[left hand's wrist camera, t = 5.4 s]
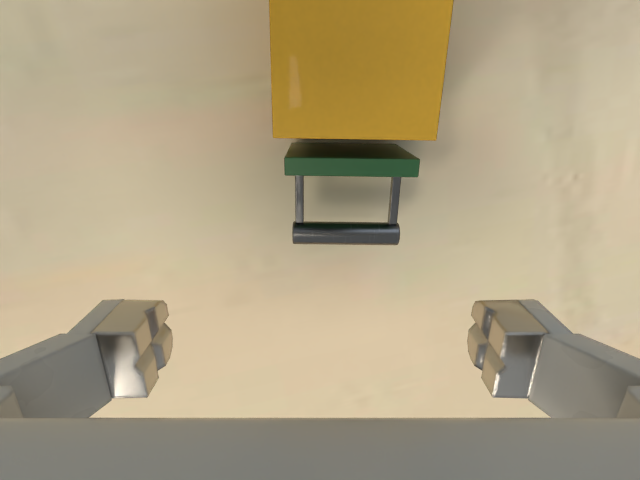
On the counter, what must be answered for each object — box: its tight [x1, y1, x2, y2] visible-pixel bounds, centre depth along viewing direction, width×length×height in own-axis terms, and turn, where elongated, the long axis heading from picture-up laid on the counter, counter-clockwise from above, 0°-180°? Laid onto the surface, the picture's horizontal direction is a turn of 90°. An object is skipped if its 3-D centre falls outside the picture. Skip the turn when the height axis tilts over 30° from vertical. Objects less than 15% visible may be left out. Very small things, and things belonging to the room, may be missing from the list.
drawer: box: [284, 142, 420, 245], centre depth 26 cm, size 25×9×8 cm, turn 179°
